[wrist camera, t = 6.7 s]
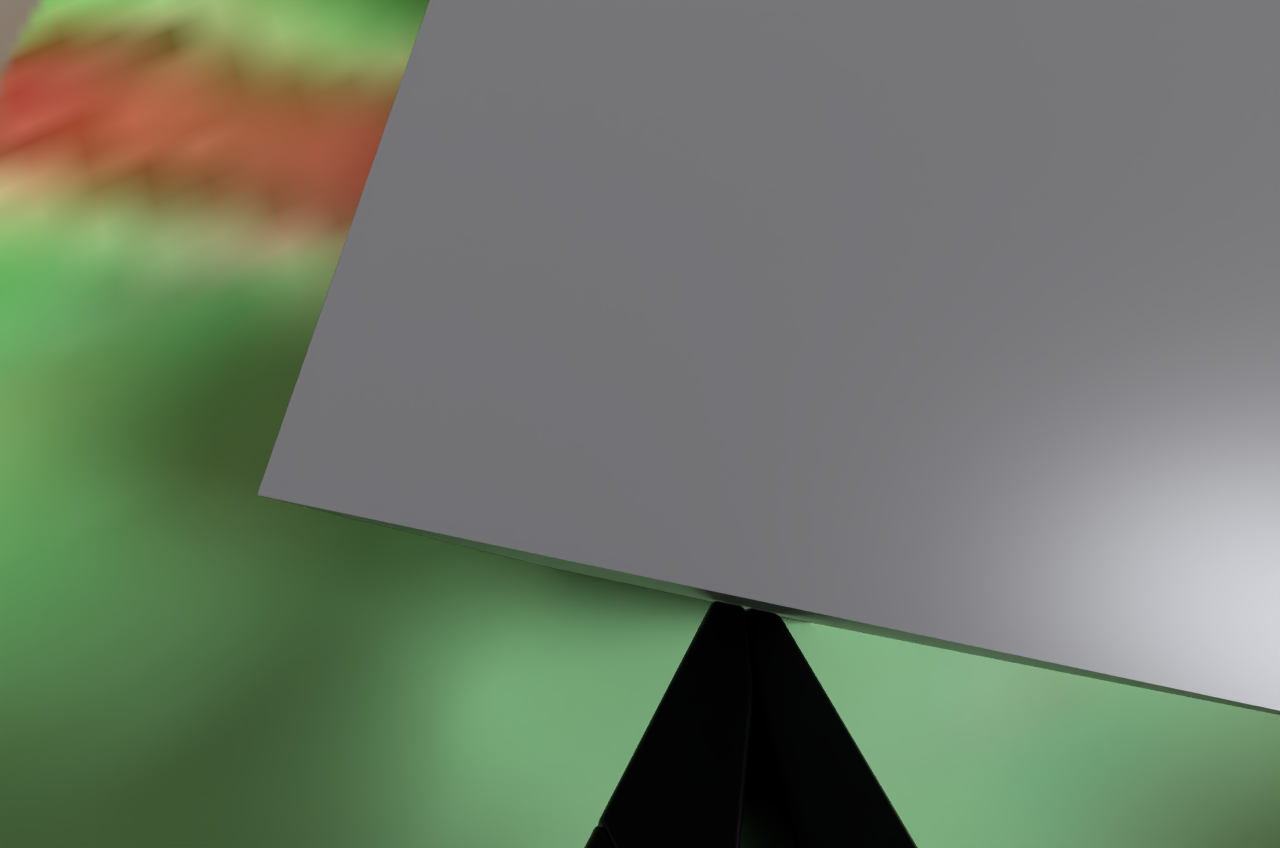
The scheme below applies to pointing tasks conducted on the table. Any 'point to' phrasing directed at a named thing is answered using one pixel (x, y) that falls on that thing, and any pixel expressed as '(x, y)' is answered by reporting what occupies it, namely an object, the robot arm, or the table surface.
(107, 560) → the table surface
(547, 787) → the table surface
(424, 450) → the grey block
